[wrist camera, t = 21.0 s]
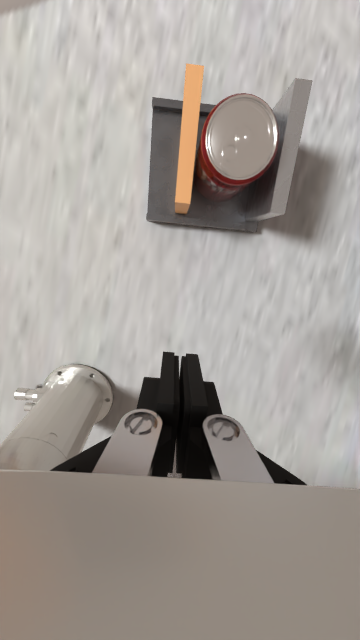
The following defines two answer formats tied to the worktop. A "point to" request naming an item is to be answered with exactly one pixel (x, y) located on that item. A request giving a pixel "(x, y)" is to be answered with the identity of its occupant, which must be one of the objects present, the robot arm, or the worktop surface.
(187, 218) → the clamp bed
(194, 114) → the sliding jaw
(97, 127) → the worktop surface
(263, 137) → the soda can
